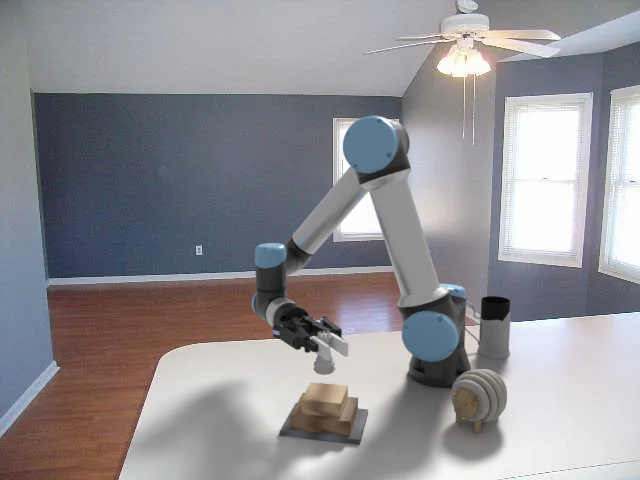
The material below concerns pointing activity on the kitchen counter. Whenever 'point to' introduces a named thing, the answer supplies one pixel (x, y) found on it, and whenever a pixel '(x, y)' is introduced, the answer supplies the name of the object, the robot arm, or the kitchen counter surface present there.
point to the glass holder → (493, 327)
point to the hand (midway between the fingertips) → (337, 351)
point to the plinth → (326, 415)
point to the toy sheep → (478, 397)
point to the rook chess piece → (320, 363)
